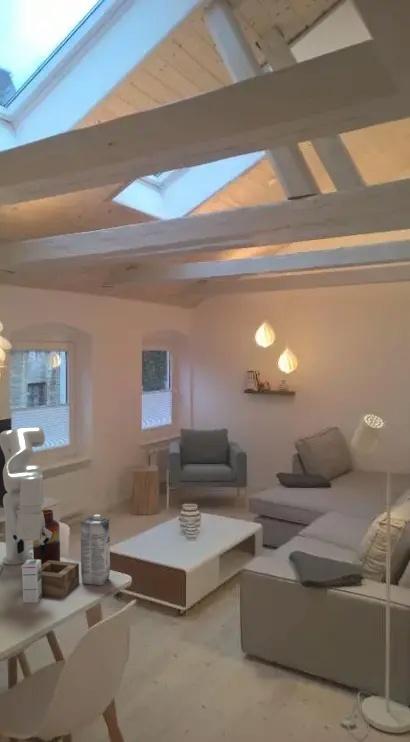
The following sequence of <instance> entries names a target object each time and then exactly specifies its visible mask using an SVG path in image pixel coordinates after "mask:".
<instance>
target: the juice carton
mask: <svg viewBox="0 0 410 742" xmlns="http://www.w3.org/2000/svg"><path fill="white" fill-rule="evenodd" d="M110 534H111V533H110V518H108V517H101V514H94V515H93V516H88V517H87V518H85V519H84V520H81V522H80V571H81V572H80V573H81V580H82V584H87V585H96V586H102V585H104V583H106V581H108V580H109V577H110V574H111V573H110V572H111V559H110V558H111V555H110V552H111V549H110V545H111V543H110V542H111V541H110V538H111V537H110Z"/></svg>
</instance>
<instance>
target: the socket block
mask: <svg viewBox="0 0 410 742" xmlns="http://www.w3.org/2000/svg"><path fill="white" fill-rule="evenodd" d="M41 572H42V596H47V597H54V598H63V597H64V596H65V595H66V594H68V593H69V592H70V591H71V590H72V589H74V588H75V587H76V586H78V584H80V564H79V563H77V562H70V561H69V562H68V561H61V560H60V561H52V560H48V561H46V562H45V563H43V564H42V565H41Z"/></svg>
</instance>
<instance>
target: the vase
mask: <svg viewBox="0 0 410 742" xmlns="http://www.w3.org/2000/svg"><path fill="white" fill-rule="evenodd" d="M41 511H43V515H44V520H45V528H46V529H48V530H49V531H51V532H52V533H53V534H52V536H51V539H50V540H49V541H48V543H47V551H46V554H44V555H42V556H41V555H40V545H41V543H40V542H39V540H36V541H35V540H32V545H33V548H32V551H33V552H32V559H40V560H41V565H42V564H43V563H45V562H46V561H48V560H52V561H61V532H60V531H61V530H60V527H61V526H60V523H59V522H58V520H56V519H54V510H53V509H50V508H49V509H48V508H47V509H41ZM45 537H46V538H47V534H45Z"/></svg>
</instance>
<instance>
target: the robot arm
mask: <svg viewBox="0 0 410 742" xmlns="http://www.w3.org/2000/svg"><path fill="white" fill-rule="evenodd" d="M45 438H46V437H45V432H44V429H43V428H41V427H38V426H31V427H19V428H14V429H8V430H7V429H6V430H3V431H2V432H0V448H1V450H2V452H3V455H4V460H5V462H4V463H5V464H4V467H3V469H2V479H3V486H4V490H5V491H6V493H5V494H4V495H3V498H2V504H3V510H4V516H5V517H4V518H5V519H4V520H5V553H6V554H5V556H3V558H2V563H3V564H4V565H5V564H6V565H9V566H10V565H11V566H16V565H23V564H24V563H25V562H26V560H30V559H33V554H31V553H30V551H31V550H33V544H30V545H29V541H33V540H35V541H36V540H39V542H40V543H41V545H40V555H41V556H42V555H44V554H46V551H47V543H48V541H49V540H50V539H51V536H52V534H53V533H52V532H51V531H49V530H48V529H46V528H45V520H44V515H43V511H41V510H42V507H43V506H44V502H45V501H44V500H45V499H44V498H45V496H44V475H43V470H42V467H41V466H40V465H38V464H29V463H30V462H31V461H32V460H33V458H34V449H33V448H40V447H43V445H44V444H45V442H46V441H45V440H46V439H45ZM28 464H29V465H28ZM45 534H47V538H46V537H45Z"/></svg>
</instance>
